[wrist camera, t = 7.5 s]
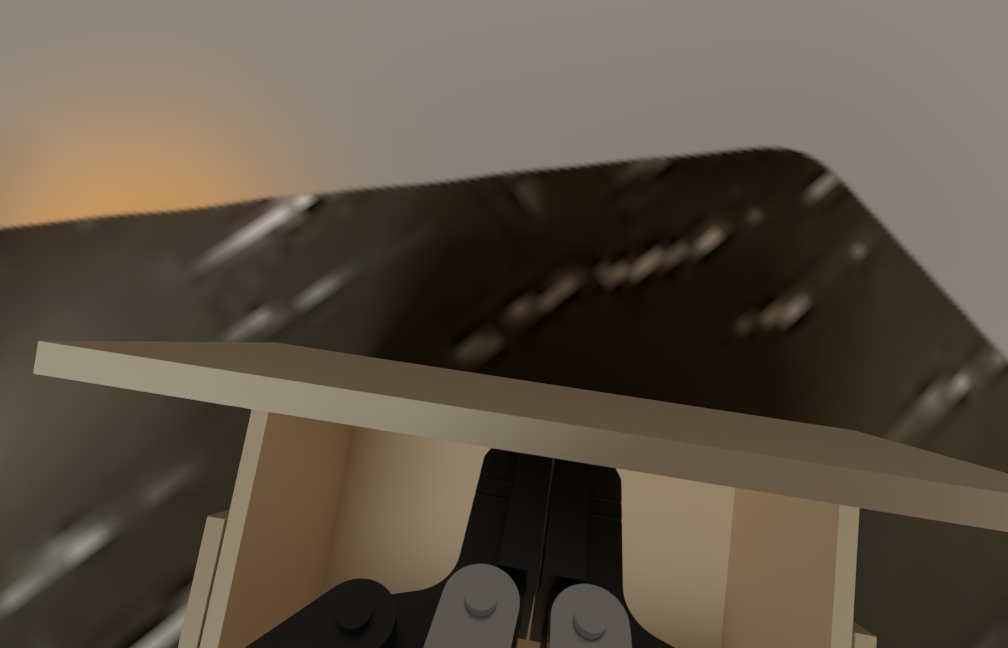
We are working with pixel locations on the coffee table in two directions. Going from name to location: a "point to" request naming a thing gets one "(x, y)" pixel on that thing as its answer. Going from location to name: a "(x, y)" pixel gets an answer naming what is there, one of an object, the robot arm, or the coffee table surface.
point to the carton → (442, 525)
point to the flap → (550, 423)
